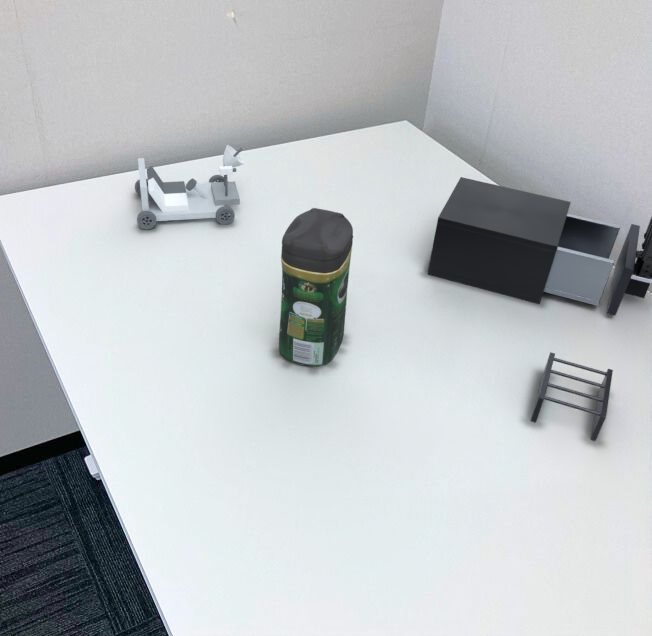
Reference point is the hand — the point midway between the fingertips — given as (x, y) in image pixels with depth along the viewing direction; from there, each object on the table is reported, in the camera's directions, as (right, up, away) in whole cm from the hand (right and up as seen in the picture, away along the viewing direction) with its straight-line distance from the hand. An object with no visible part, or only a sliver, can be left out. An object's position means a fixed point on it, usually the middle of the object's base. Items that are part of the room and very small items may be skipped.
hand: (634, 293), depth 109 cm
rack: (-16, -15, -17) cm, 28 cm away
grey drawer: (-7, +2, +2) cm, 7 cm away
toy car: (-67, +15, +15) cm, 70 cm away
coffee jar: (-47, -8, -10) cm, 49 cm away
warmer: (-19, +5, +7) cm, 21 cm away
